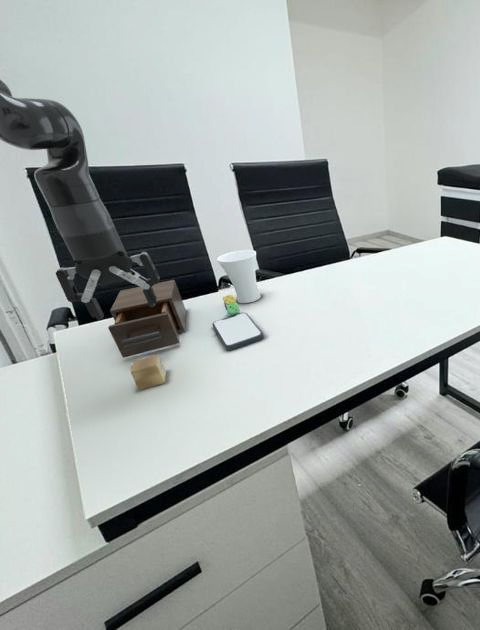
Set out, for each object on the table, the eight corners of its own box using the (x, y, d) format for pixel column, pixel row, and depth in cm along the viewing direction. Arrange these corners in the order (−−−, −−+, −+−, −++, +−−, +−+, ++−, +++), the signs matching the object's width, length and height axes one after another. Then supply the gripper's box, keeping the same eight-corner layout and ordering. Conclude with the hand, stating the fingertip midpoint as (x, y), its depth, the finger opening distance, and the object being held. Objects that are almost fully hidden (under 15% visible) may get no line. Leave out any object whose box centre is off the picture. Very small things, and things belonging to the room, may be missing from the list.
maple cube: (139, 390, 77) (130, 372, 75) (141, 379, 80) (133, 361, 78) (164, 383, 79) (156, 364, 76) (166, 372, 82) (158, 354, 80)
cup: (270, 300, 113) (258, 256, 107) (232, 309, 109) (217, 264, 103) (264, 289, 121) (253, 247, 115) (228, 297, 117) (215, 254, 111)
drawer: (178, 351, 88) (166, 321, 84) (119, 367, 84) (103, 336, 80) (181, 321, 102) (171, 294, 99) (131, 333, 98) (118, 305, 94)
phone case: (266, 339, 92) (247, 316, 104) (264, 333, 92) (246, 311, 103) (227, 353, 88) (212, 327, 100) (225, 347, 87) (210, 322, 99)
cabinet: (184, 331, 99) (171, 297, 94) (126, 346, 94) (109, 310, 89) (186, 310, 110) (174, 279, 106) (134, 322, 106) (120, 290, 101)
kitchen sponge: (226, 312, 107) (219, 291, 104) (236, 309, 109) (230, 288, 106) (232, 322, 101) (224, 300, 98) (242, 319, 102) (235, 298, 100)
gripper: (137, 218, 73) (169, 295, 80) (42, 232, 67) (86, 315, 75) (133, 225, 67) (168, 308, 74) (28, 242, 61) (77, 330, 69)
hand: (127, 311), depth 75 cm, fingers open, 8 cm apart
